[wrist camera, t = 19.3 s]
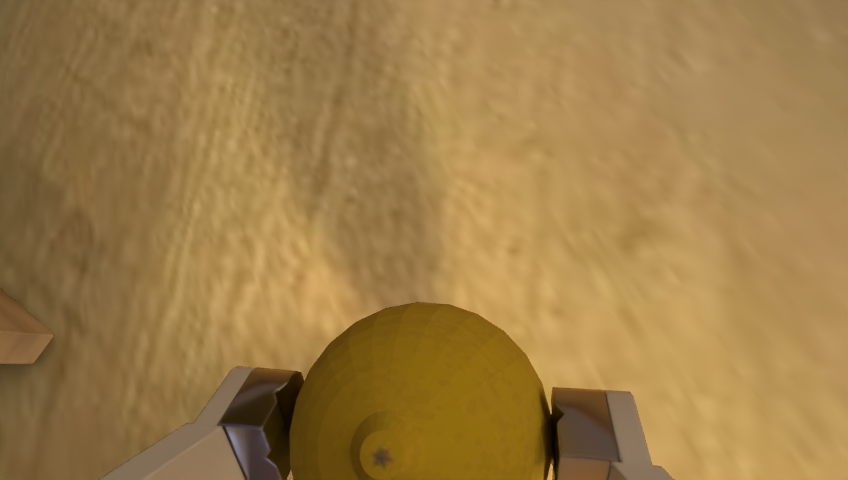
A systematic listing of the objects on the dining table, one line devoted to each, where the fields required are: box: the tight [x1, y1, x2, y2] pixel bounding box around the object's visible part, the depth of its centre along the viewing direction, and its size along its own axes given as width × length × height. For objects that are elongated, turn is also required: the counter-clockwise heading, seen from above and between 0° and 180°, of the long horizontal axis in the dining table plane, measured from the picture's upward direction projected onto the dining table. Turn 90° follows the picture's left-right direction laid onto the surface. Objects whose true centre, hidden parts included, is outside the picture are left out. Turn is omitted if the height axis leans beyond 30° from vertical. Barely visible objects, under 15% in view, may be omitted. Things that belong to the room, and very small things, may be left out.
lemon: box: [290, 302, 552, 480], centre depth 11 cm, size 6×6×8 cm
